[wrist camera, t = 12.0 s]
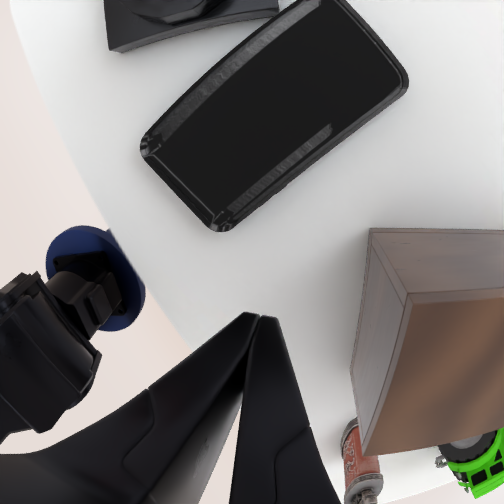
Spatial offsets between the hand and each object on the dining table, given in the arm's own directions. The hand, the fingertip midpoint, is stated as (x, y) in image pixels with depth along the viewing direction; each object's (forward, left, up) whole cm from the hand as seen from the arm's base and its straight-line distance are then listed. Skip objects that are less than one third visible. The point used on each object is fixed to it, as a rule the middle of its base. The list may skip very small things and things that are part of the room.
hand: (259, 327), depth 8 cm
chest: (+11, -10, -13) cm, 19 cm away
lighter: (+6, -27, -13) cm, 30 cm away
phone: (0, +5, -13) cm, 14 cm away
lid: (+11, -10, -5) cm, 16 cm away
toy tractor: (+23, -28, -13) cm, 38 cm away
